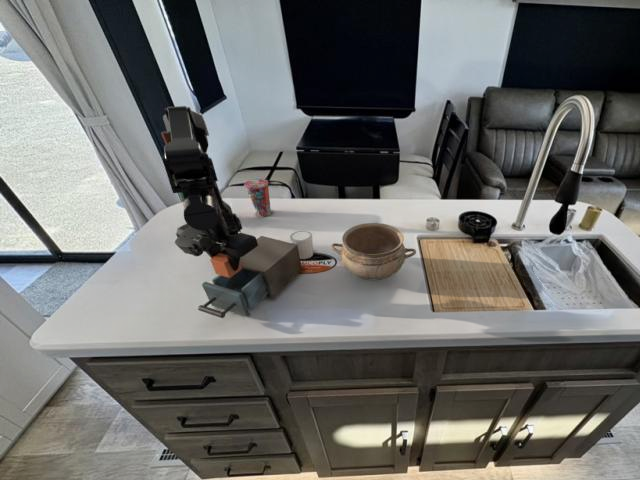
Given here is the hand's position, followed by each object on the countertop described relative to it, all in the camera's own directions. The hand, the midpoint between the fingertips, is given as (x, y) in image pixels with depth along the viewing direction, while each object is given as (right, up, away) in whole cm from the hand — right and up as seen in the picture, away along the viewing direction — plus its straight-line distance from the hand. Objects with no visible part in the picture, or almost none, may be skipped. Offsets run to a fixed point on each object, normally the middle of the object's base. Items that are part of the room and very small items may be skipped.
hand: (228, 267), depth 81 cm
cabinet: (+4, -2, +15) cm, 16 cm away
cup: (-10, +26, +46) cm, 53 cm away
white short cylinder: (+12, +7, +26) cm, 29 cm away
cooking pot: (+35, 0, +19) cm, 40 cm away
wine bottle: (-32, +22, +41) cm, 56 cm away
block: (0, -1, +1) cm, 1 cm away
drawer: (0, -8, +6) cm, 10 cm away
